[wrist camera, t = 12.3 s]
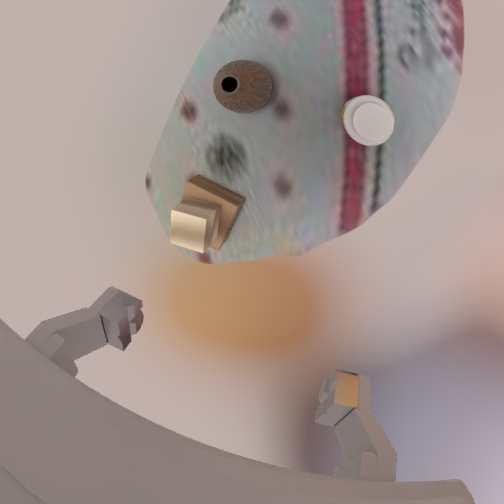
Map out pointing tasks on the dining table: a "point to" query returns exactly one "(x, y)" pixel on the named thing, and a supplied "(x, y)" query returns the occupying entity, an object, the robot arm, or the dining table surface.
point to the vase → (242, 86)
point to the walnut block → (216, 195)
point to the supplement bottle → (367, 120)
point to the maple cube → (195, 224)
